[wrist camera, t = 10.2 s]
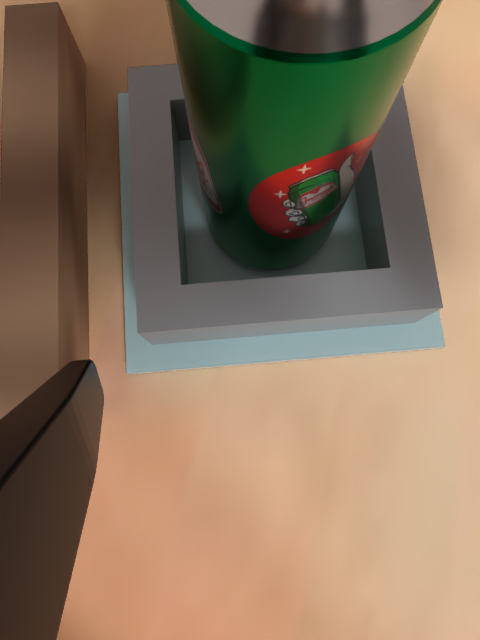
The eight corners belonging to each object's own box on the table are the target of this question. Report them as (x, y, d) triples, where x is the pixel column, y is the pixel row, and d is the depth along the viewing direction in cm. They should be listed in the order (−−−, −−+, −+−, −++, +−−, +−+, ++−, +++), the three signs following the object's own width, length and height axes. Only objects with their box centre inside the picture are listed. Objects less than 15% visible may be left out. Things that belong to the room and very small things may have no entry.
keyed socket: (440, 348, 18) (478, 334, 15) (129, 374, 17) (107, 366, 15) (393, 78, 20) (417, 22, 17) (119, 99, 20) (99, 46, 17)
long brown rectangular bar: (90, 430, 17) (58, 433, 14) (36, 435, 17) (-7, 439, 14) (84, 62, 20) (57, 2, 17) (39, 65, 20) (5, 6, 17)
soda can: (221, 147, 19) (187, -290, 7) (342, 170, 19) (509, -245, 7) (193, 260, 18) (100, -33, 6) (320, 286, 18) (474, 31, 6)
